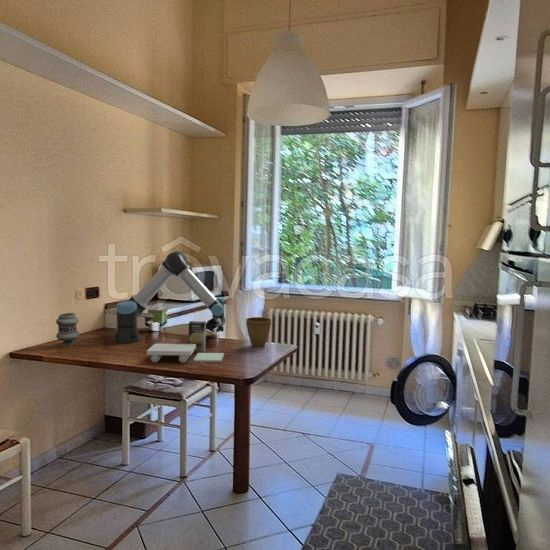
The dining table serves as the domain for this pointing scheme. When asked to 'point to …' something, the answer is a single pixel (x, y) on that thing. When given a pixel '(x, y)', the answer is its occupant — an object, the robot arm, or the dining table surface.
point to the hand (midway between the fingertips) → (202, 331)
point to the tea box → (159, 316)
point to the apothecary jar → (67, 328)
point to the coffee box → (197, 335)
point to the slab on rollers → (171, 351)
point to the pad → (209, 357)
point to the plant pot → (258, 330)
